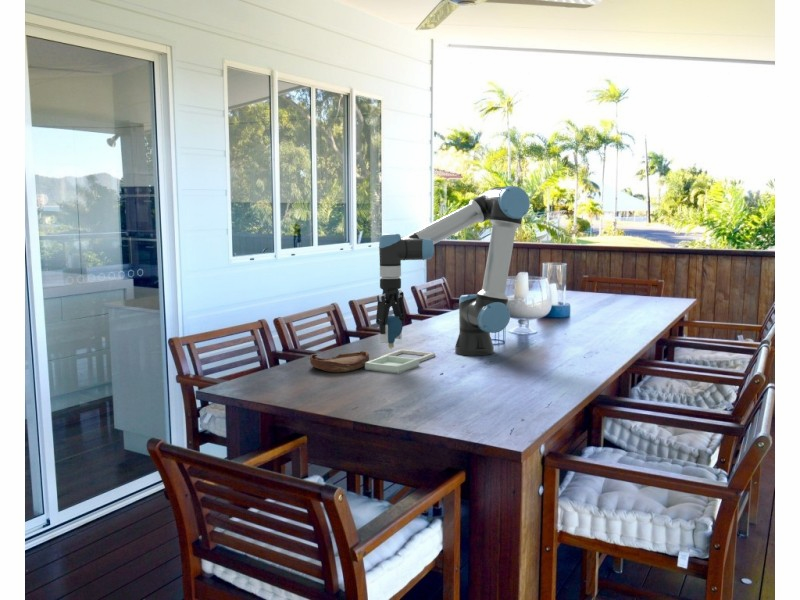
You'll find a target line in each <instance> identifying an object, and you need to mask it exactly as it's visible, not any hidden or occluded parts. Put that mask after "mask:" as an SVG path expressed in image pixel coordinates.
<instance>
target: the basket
mask: <svg viewBox="0 0 800 600" xmlns="http://www.w3.org/2000/svg"><path fill="white" fill-rule="evenodd" d="M317 356H318V355H317V354H315V353H313V354H310V356H309V360H310V365H311V366H312V367H313V368H316V369H318V370H321V371H323V372H324V371H325V372H328V373H344V372H350V371H351V372H352V371H355V370H358V369H361V368H363V367H365V362H368V361H370V355H369V351H365V350H362V351H359V352H348V353H339V354H338V355H336V356H333V357H332V358H322V357H321V358H320V357H317Z"/></svg>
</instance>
